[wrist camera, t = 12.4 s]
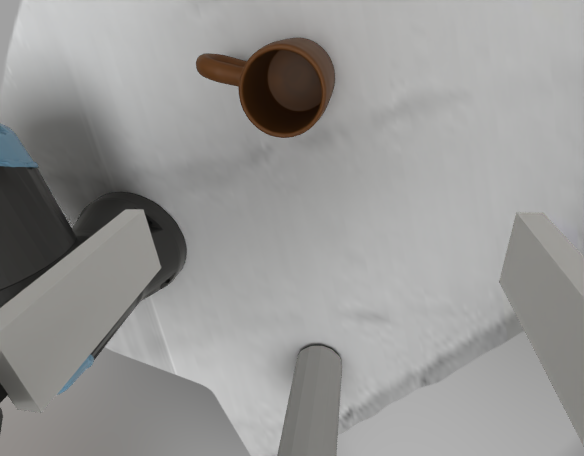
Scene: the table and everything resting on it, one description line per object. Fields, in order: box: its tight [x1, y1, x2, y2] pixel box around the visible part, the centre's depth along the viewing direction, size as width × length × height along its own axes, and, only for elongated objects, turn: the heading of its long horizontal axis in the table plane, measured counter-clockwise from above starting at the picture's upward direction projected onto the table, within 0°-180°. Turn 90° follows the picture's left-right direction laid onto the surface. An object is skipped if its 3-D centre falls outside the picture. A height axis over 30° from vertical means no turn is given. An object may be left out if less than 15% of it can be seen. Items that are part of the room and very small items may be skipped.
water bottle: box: [277, 346, 342, 456], centre depth 47 cm, size 9×8×25 cm
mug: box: [196, 38, 335, 138], centre depth 34 cm, size 12×8×9 cm, turn 75°
